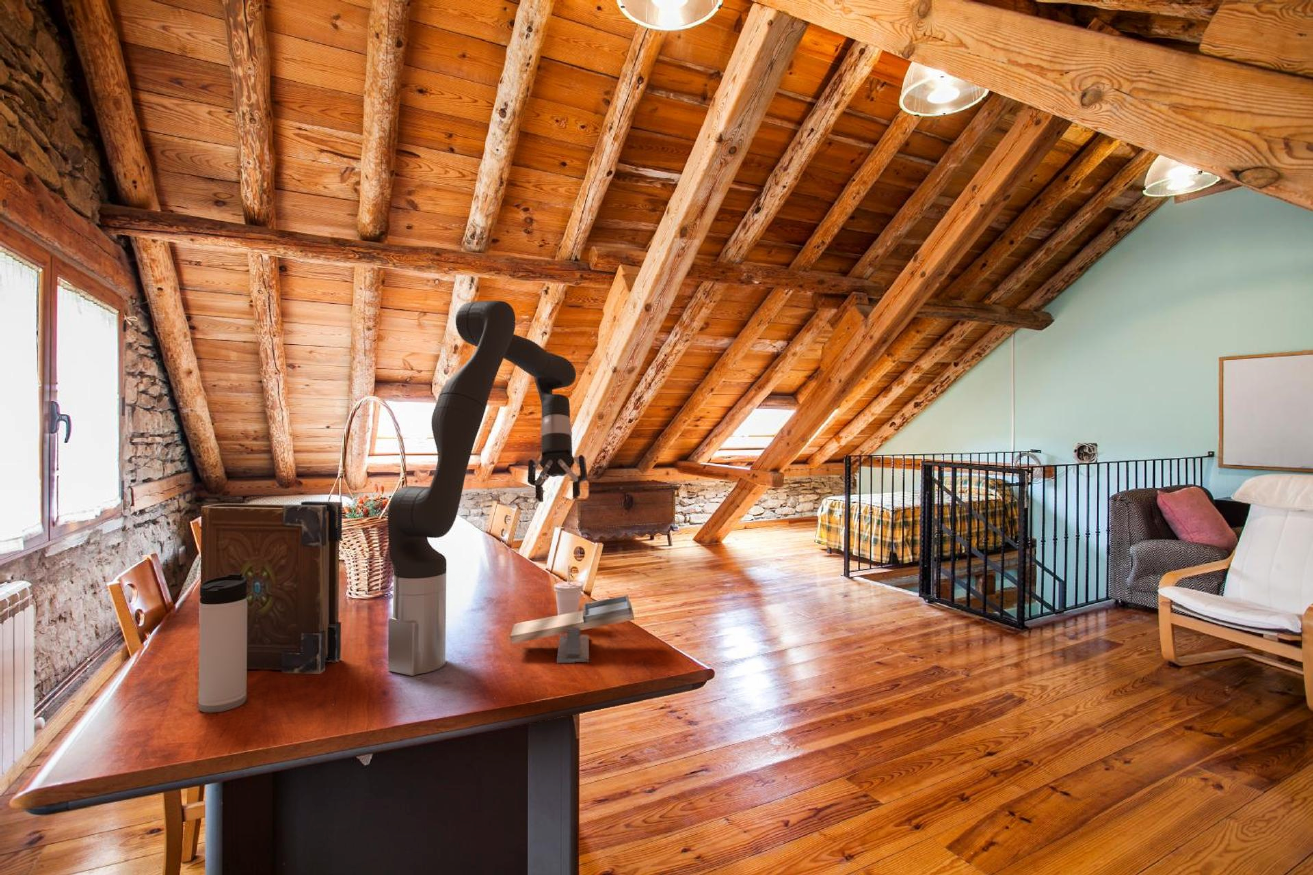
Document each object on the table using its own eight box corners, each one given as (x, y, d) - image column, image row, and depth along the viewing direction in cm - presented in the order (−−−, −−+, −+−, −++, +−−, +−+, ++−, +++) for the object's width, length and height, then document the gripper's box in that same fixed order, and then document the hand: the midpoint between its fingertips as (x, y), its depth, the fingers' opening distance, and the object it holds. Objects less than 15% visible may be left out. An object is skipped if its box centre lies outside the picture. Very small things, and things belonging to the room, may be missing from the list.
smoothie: (555, 633, 138) (555, 568, 138) (551, 624, 144) (552, 562, 144) (584, 631, 140) (585, 567, 140) (579, 622, 146) (580, 561, 146)
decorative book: (340, 659, 120) (342, 501, 120) (319, 673, 113) (321, 506, 113) (220, 656, 121) (221, 499, 121) (191, 670, 114) (193, 503, 114)
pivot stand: (556, 663, 120) (557, 631, 120) (559, 639, 134) (560, 610, 134) (588, 662, 121) (589, 630, 121) (588, 638, 135) (588, 610, 134)
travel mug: (256, 695, 104) (257, 573, 104) (230, 713, 97) (231, 582, 97) (217, 695, 104) (218, 573, 103) (188, 713, 97) (189, 582, 97)
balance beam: (510, 645, 121) (508, 631, 121) (516, 629, 131) (514, 616, 131) (634, 620, 124) (632, 607, 124) (631, 607, 133) (629, 594, 133)
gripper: (524, 434, 155) (524, 499, 150) (581, 428, 154) (584, 494, 149) (532, 443, 162) (533, 505, 157) (587, 437, 161) (590, 500, 156)
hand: (558, 499), depth 153 cm, fingers open, 8 cm apart
